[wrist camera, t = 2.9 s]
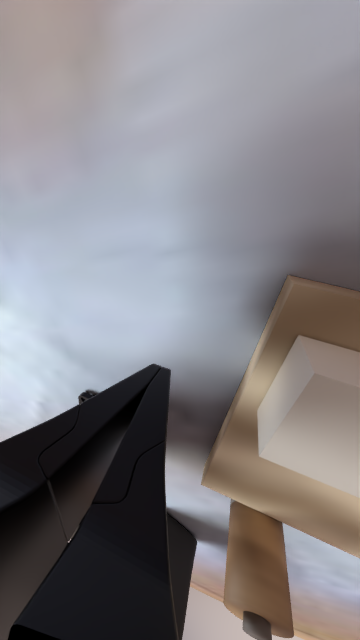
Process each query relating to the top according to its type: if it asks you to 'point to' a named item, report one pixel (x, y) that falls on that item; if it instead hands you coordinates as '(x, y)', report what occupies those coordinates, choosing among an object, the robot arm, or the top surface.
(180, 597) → the battery charger
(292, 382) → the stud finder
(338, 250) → the top surface
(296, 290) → the plank
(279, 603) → the brown knobbed cylinder
